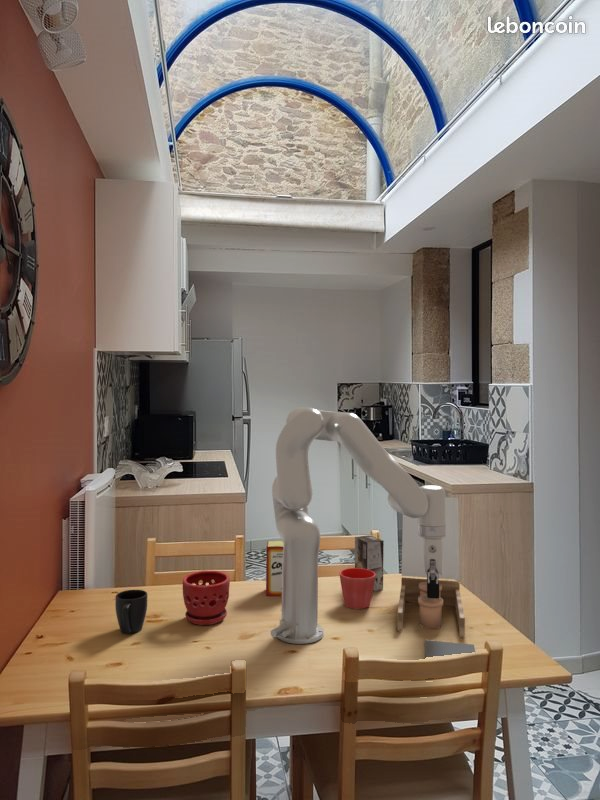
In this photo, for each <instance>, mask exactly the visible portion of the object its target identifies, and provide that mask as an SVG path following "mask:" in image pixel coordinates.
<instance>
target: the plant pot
mask: <svg viewBox="0 0 600 800" xmlns="http://www.w3.org/2000/svg"><path fill="white" fill-rule="evenodd" d="M200 581H202V583H201V584H200V583H199V582H200ZM212 581H213V582H212ZM230 582H231V580H230V576H229V575H228V574H227V573H225V572H222V571H217V570H202V571H195V572H191V573H190V574H187V575H186V576H184V577H183V578H182V597H183V603H184V606H185V608H186V611H185V612H184V613H185V617H186V619H187V621H189V622H190V623H192V624H195V625H199V626H205V625H206V626H207V625H214V624H218V623H220V622H221V621H223V620H224V619H225V618H226V617H227V614H228V611H227V609H226V607H227V606H228V601H229V598H230V585H231V584H230ZM207 584H208V585H207Z"/></svg>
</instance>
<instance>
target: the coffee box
mask: <svg viewBox="0 0 600 800" xmlns="http://www.w3.org/2000/svg"><path fill="white" fill-rule="evenodd" d="M384 542H385V541H384V540H383V539H380V538H377V537H375V536H373V535H370V534H369V535H362V536H354V568H362V569H368V570H371V571H373V572H374V573H375V574H376V577H375V583H374V588H373V590H375V591H379V590H378V589H383V590H384Z"/></svg>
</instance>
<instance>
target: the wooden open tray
mask: <svg viewBox="0 0 600 800" xmlns="http://www.w3.org/2000/svg"><path fill="white" fill-rule="evenodd" d="M400 579H401V585H400V586H401V587H400V591H399V592H400V593H399V601H398V608H397V632H401V631H402V632H403V627H404V618H405V617H404V615H405V608H406V607H405V606H406V601H407V603H418V597H420V590H419V583H421V582H427V578H426V579H425V578H417V577H416V578H415V577H404V576H402V577H401V578H400ZM438 581H439V584H440V585H442V591H441V597H440V598H442V599H443V606H455V613H456V620H457V626H458V634H459V638H465V637H466V636H465V635H466V633H465V632H466V631H465V630H466V629H465V628H466V627H465V626H466V625H465V624H466V623H465V622H466V621H465V620H466V619H465V618H466V617H465V613H464V607H463V602H462V601H463V600H462V595H461V590H460V588H461V587H460V584H461V582H460V581H458V580H445V579H444V580H443V579H438Z"/></svg>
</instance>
